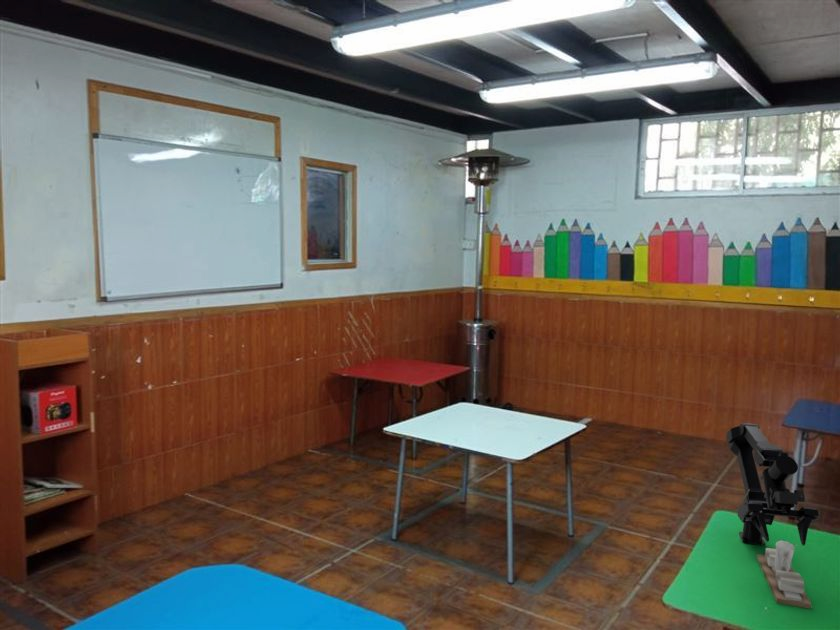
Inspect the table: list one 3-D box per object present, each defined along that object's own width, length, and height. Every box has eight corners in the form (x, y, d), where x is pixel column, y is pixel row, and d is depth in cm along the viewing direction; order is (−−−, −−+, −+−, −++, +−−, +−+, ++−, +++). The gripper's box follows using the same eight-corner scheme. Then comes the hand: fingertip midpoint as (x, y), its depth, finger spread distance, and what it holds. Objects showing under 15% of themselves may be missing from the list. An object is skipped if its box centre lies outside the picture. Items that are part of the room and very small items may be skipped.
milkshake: (788, 581, 181) (793, 546, 179) (769, 572, 185) (773, 538, 184) (797, 576, 183) (801, 542, 182) (777, 567, 188) (781, 534, 186)
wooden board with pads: (756, 557, 197) (758, 541, 196) (786, 562, 195) (789, 546, 194) (776, 602, 174) (778, 584, 173) (811, 608, 172) (813, 590, 171)
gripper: (750, 474, 187) (759, 530, 178) (822, 480, 185) (834, 537, 176) (737, 489, 196) (746, 543, 187) (806, 495, 194) (817, 550, 185)
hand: (785, 543), depth 184 cm, fingers open, 9 cm apart
